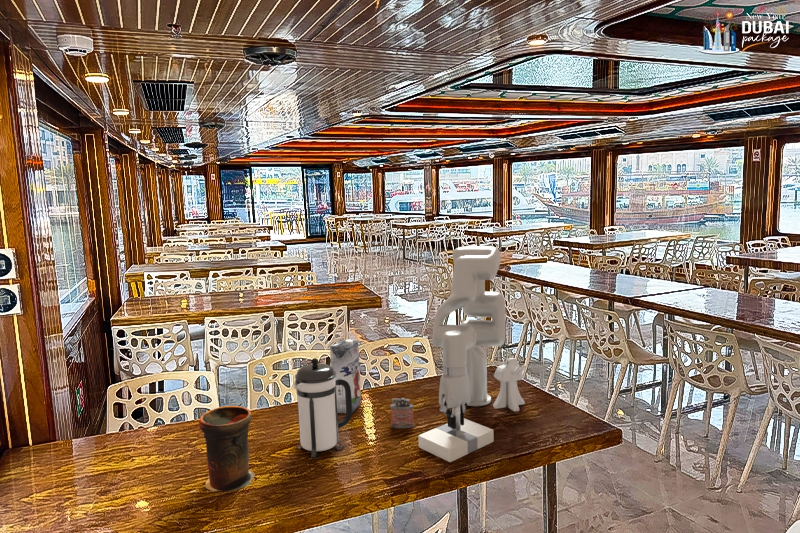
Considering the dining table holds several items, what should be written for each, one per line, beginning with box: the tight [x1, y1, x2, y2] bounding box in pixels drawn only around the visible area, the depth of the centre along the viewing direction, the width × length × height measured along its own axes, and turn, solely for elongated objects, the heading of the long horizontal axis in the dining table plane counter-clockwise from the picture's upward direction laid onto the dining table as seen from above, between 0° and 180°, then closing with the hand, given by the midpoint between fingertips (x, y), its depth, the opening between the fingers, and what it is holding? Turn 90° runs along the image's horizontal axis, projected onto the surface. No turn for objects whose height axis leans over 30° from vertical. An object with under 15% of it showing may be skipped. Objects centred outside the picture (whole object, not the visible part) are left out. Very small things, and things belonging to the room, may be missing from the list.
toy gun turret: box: [490, 357, 527, 412], centre depth 212 cm, size 12×13×18 cm
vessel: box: [198, 405, 256, 493], centre depth 164 cm, size 14×14×20 cm
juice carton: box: [329, 339, 362, 414], centre depth 213 cm, size 9×10×27 cm
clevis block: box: [417, 418, 495, 463], centre depth 183 cm, size 20×14×4 cm
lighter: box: [389, 397, 415, 429], centre depth 198 cm, size 8×3×10 cm, turn 84°
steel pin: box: [451, 401, 462, 431], centre depth 182 cm, size 4×4×10 cm
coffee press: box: [293, 357, 353, 460], centre depth 182 cm, size 17×16×30 cm
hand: (455, 425), depth 182 cm, fingers closed on steel pin, 3 cm apart
